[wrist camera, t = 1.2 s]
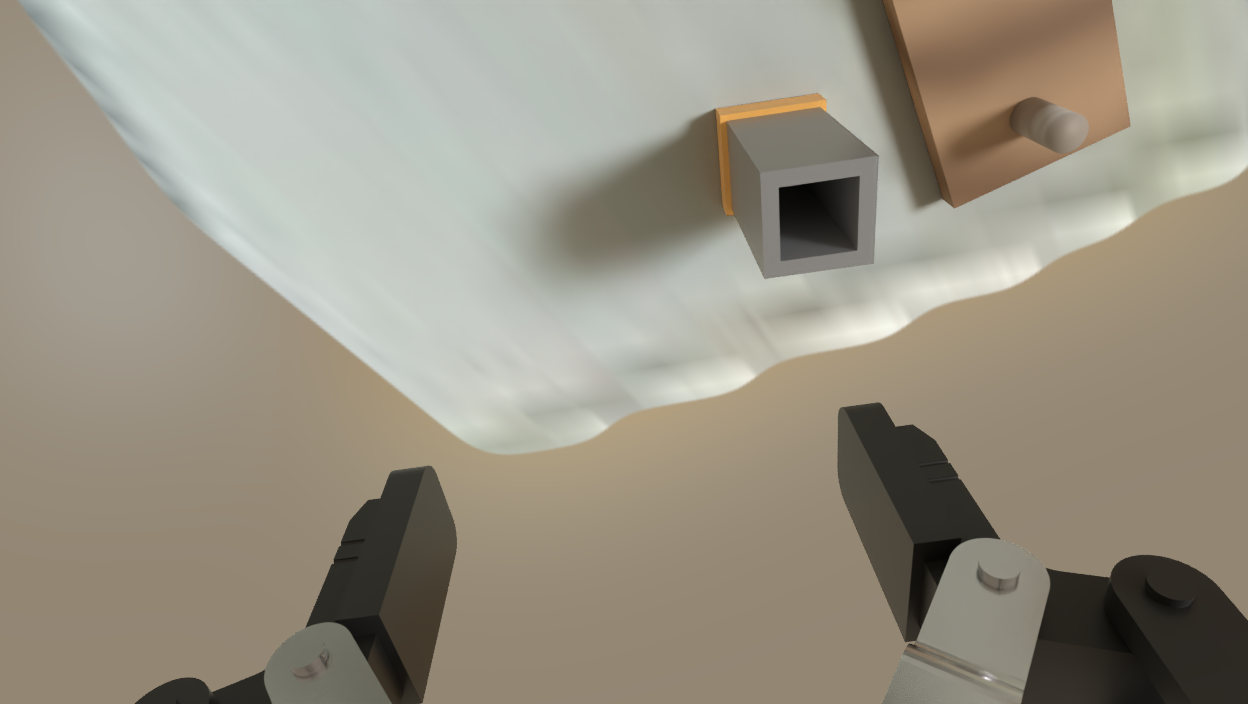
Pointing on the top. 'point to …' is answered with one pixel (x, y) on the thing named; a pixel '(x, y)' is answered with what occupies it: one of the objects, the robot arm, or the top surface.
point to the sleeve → (797, 185)
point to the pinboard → (1008, 84)
